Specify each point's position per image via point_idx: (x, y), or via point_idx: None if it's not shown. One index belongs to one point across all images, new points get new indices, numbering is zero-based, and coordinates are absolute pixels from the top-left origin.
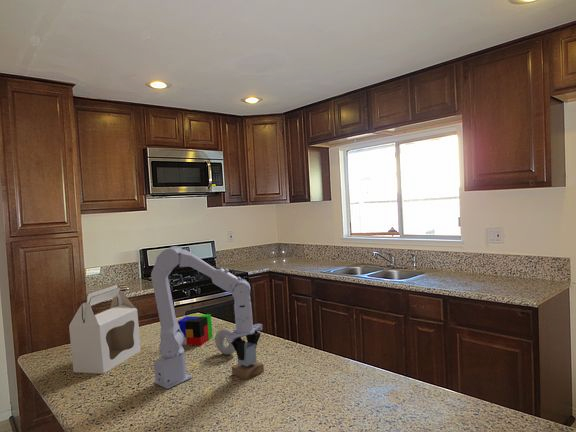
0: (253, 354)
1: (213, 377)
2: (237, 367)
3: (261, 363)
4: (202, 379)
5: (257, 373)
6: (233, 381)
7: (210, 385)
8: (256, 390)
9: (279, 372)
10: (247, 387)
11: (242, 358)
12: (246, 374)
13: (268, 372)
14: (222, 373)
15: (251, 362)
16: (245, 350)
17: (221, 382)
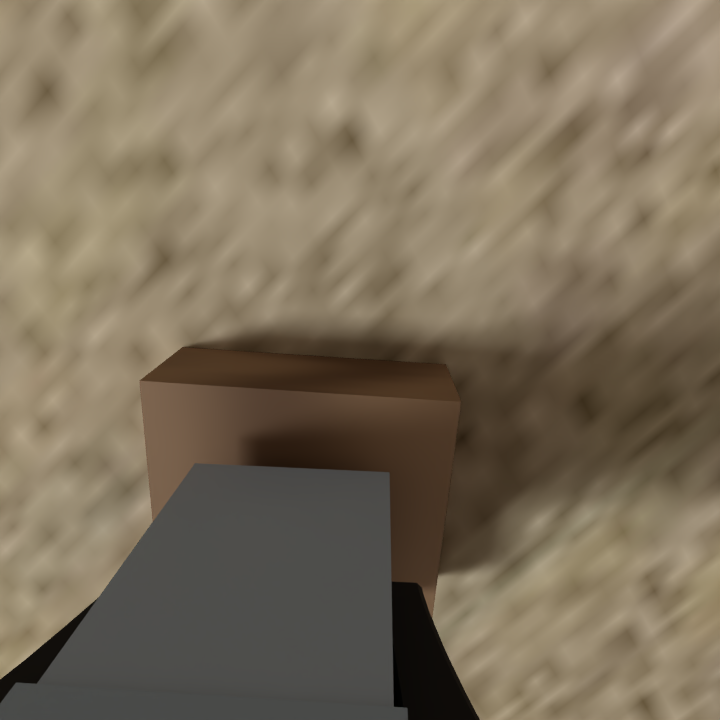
0: (198, 554)
1: (558, 664)
2: (412, 579)
3: (147, 410)
4: (633, 709)
5: (279, 358)
6: (541, 460)
7: (708, 580)
8: (616, 44)
9: (71, 156)
10: (594, 218)
11: (425, 605)
12: (454, 387)
13: (162, 283)
14: (454, 656)
15: (289, 481)
16: (391, 711)
17: (612, 541)
